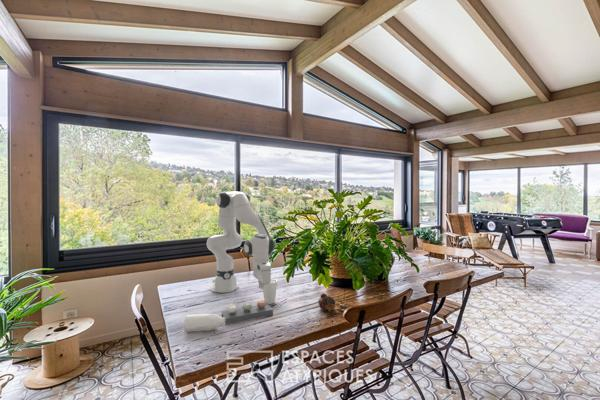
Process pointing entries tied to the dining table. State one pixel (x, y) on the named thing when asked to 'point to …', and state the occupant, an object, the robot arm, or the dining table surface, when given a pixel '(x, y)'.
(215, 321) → the white plastic bottle
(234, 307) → the white round dome
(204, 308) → the dining table surface
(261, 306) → the orange rounded lump
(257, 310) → the console
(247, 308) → the sage button
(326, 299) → the decorative turtle
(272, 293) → the foam cup
